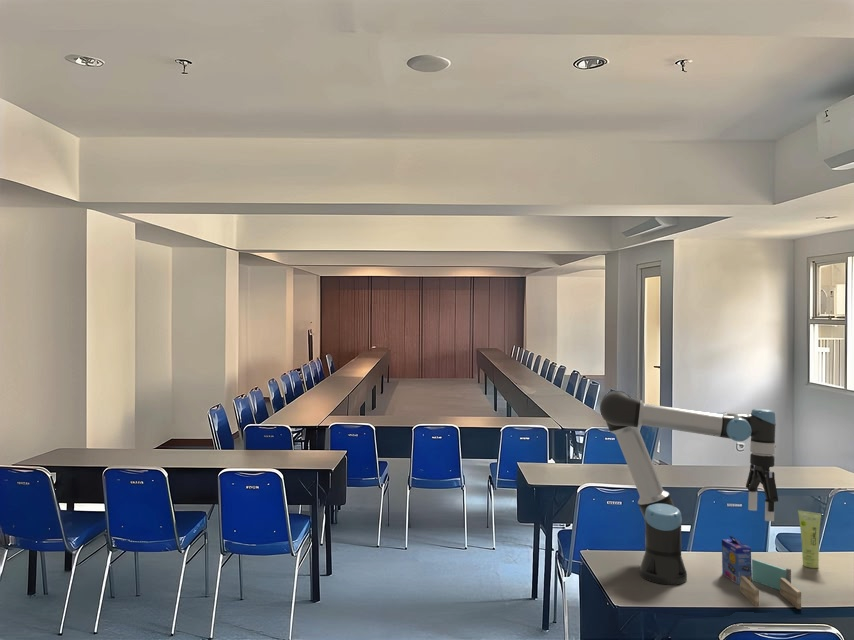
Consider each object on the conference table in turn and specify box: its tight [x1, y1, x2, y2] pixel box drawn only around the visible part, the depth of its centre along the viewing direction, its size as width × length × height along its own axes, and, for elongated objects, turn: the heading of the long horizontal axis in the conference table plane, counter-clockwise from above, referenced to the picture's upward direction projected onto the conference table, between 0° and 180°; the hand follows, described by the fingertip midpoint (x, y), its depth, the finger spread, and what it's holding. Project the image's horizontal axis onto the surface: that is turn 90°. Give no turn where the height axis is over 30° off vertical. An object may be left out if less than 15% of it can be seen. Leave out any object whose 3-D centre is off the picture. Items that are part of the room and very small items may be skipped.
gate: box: [751, 558, 792, 591], centre depth 217 cm, size 13×1×8 cm, turn 29°
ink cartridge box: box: [721, 534, 753, 585], centre depth 224 cm, size 10×6×14 cm, turn 5°
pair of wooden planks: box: [739, 576, 802, 610], centre depth 206 cm, size 13×12×5 cm
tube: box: [797, 509, 822, 569], centre depth 238 cm, size 6×5×20 cm
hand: (760, 515), depth 228 cm, fingers open, 13 cm apart
